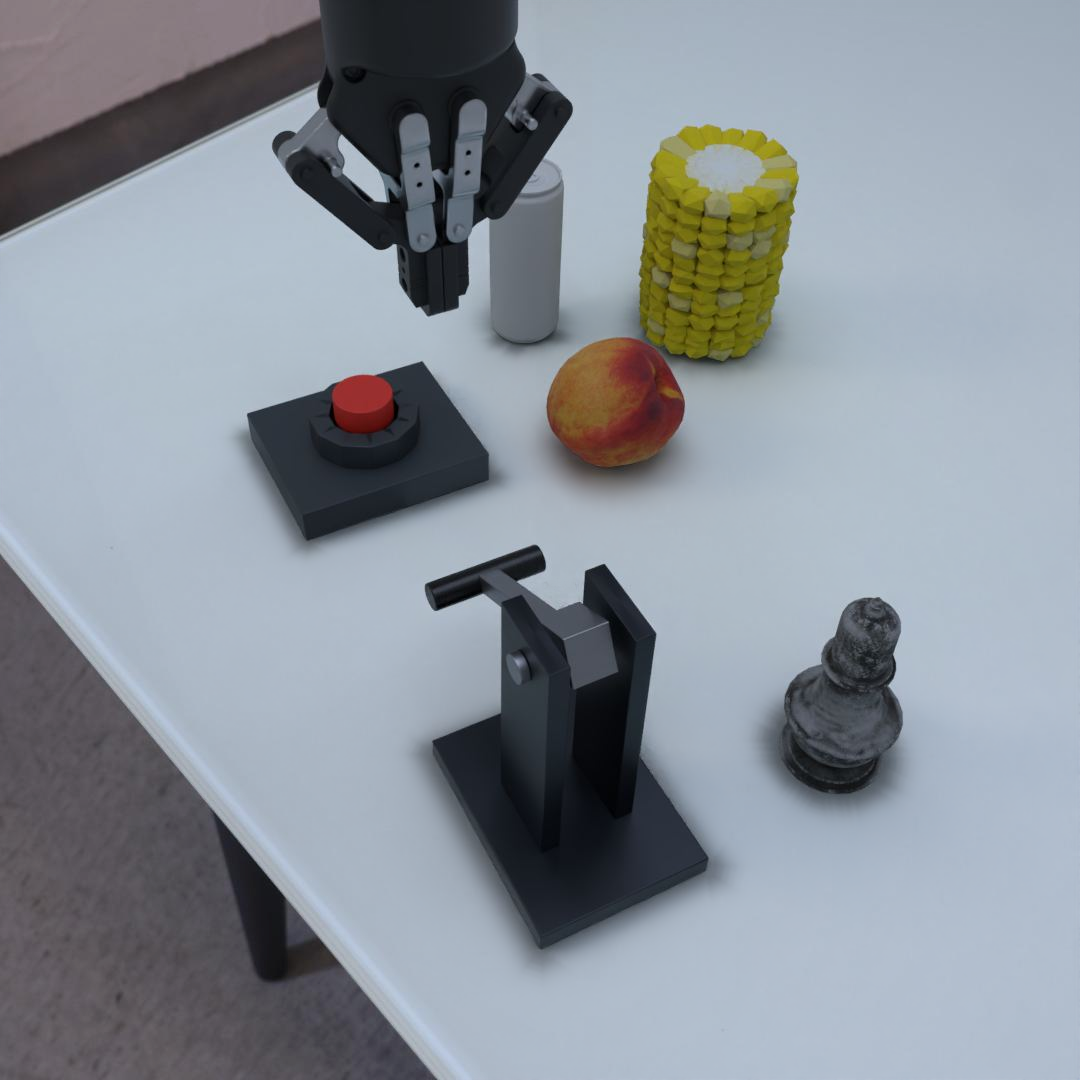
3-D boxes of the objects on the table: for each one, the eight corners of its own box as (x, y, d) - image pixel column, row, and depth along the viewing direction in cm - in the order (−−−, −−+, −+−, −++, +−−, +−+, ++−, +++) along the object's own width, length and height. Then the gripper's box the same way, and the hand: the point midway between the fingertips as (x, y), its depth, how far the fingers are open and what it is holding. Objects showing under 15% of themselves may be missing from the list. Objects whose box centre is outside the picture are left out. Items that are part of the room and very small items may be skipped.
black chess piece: (764, 781, 66) (803, 629, 58) (784, 692, 70) (824, 538, 62) (880, 812, 65) (939, 662, 57) (894, 720, 69) (950, 567, 61)
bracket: (432, 753, 67) (420, 557, 56) (586, 691, 70) (602, 493, 59) (540, 950, 60) (549, 767, 49) (706, 870, 63) (749, 682, 52)
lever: (430, 615, 64) (419, 571, 63) (538, 575, 66) (529, 531, 65) (532, 706, 54) (521, 655, 53) (657, 656, 56) (648, 606, 55)
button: (347, 441, 78) (345, 419, 77) (325, 406, 80) (323, 384, 79) (403, 424, 79) (401, 402, 78) (380, 389, 81) (378, 367, 80)
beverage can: (521, 356, 90) (523, 202, 81) (475, 323, 92) (473, 171, 83) (572, 328, 92) (580, 176, 83) (526, 296, 94) (529, 146, 86)
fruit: (634, 512, 80) (644, 412, 74) (522, 461, 82) (524, 361, 77) (694, 440, 84) (709, 341, 78) (587, 394, 87) (593, 295, 81)
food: (762, 312, 96) (747, 403, 90) (611, 260, 96) (585, 349, 89) (848, 139, 85) (838, 230, 78) (677, 79, 84) (652, 166, 78)
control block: (306, 541, 77) (298, 492, 74) (251, 439, 83) (242, 390, 80) (489, 479, 81) (489, 431, 78) (424, 386, 87) (421, 338, 84)
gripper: (532, -151, 52) (528, 226, 64) (205, -97, 47) (269, 296, 60) (625, -81, 47) (601, 311, 60) (273, -13, 43) (326, 392, 56)
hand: (434, 303), depth 60 cm, fingers closed
